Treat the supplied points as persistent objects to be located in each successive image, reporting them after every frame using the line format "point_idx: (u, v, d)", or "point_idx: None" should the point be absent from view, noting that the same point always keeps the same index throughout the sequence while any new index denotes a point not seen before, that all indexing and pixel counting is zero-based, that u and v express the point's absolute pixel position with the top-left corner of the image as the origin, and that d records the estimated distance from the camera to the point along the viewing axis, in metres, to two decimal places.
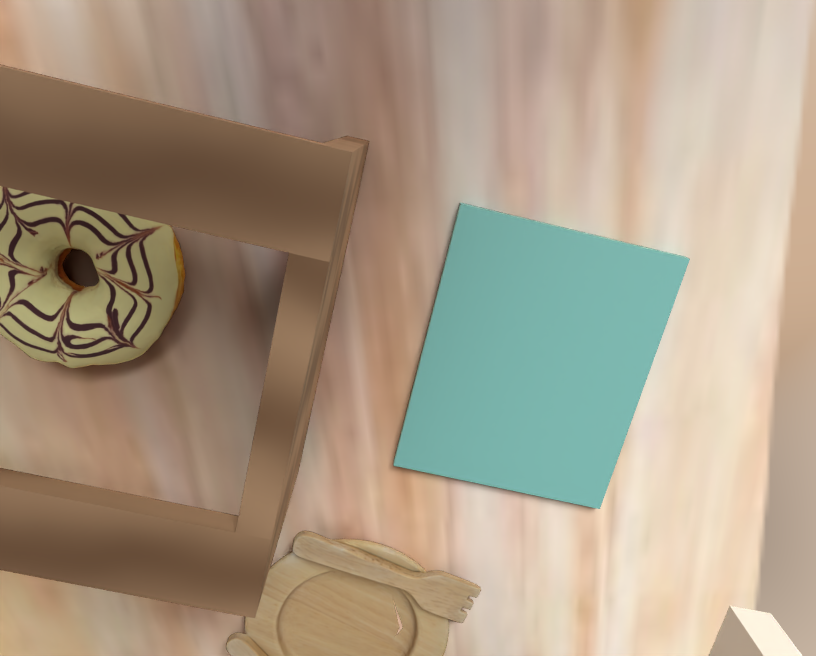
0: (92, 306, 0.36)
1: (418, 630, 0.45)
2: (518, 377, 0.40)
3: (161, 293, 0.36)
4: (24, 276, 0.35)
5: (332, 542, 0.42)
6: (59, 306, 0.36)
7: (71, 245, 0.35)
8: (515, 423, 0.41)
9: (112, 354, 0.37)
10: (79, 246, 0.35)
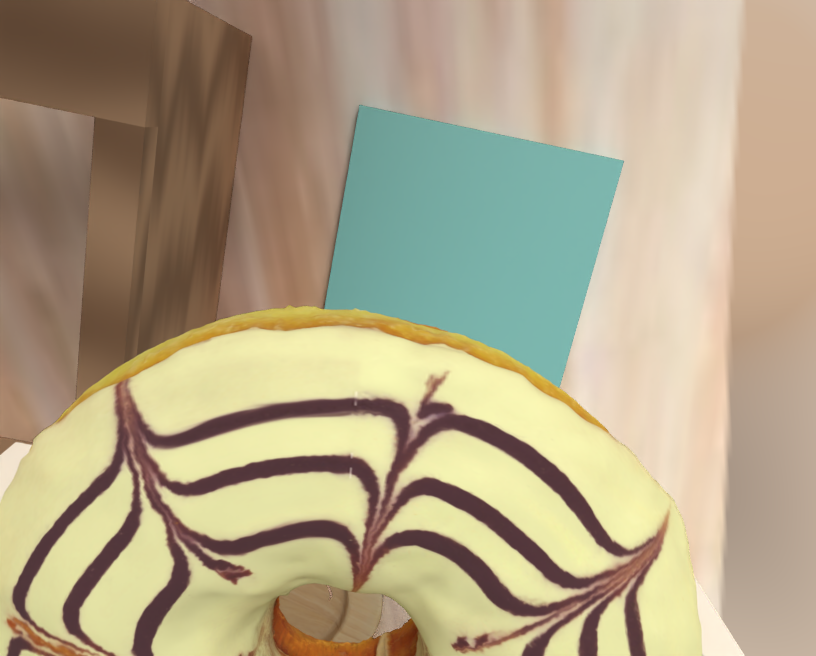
0: None
1: (348, 597, 0.41)
2: (438, 305, 0.35)
3: None
4: None
5: None
6: None
7: (355, 591, 0.10)
8: None
9: None
10: (385, 595, 0.10)
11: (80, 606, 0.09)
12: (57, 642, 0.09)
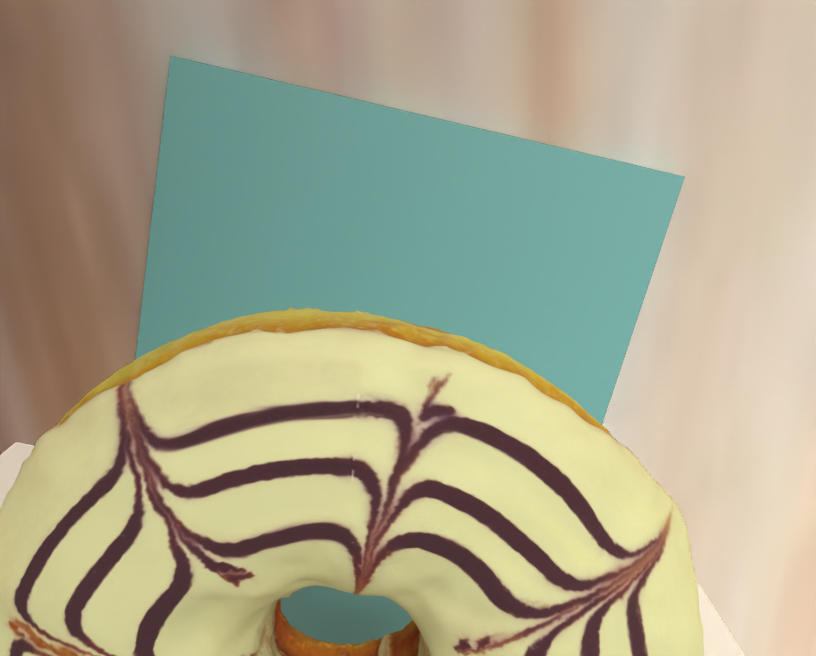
0: None
1: None
2: None
3: None
4: None
5: None
6: None
7: (357, 593, 0.10)
8: None
9: None
10: (387, 597, 0.10)
11: (82, 609, 0.09)
12: (59, 645, 0.09)
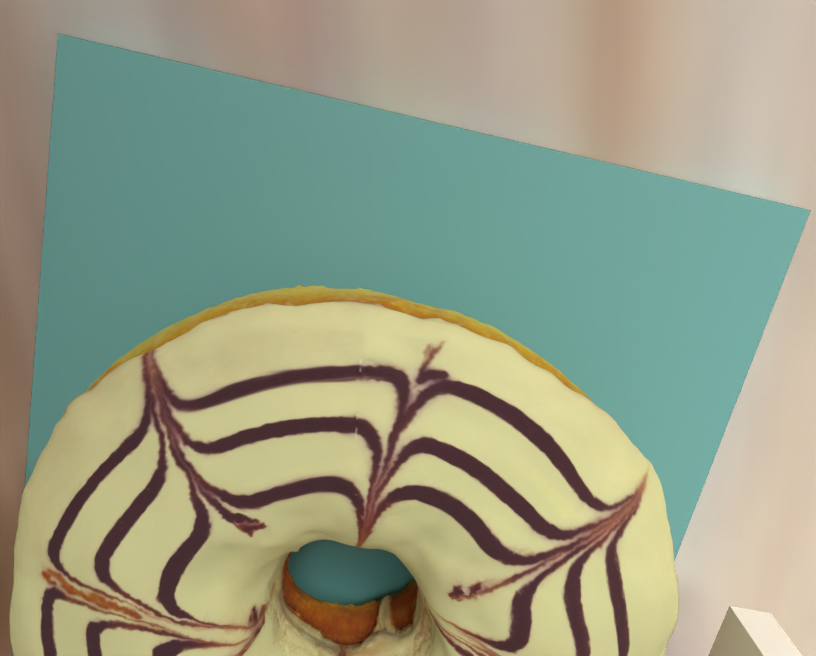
0: None
1: None
2: (310, 560, 0.14)
3: None
4: (204, 653, 0.10)
5: None
6: None
7: (360, 546, 0.11)
8: None
9: None
10: (387, 549, 0.11)
11: (111, 556, 0.10)
12: (89, 591, 0.10)
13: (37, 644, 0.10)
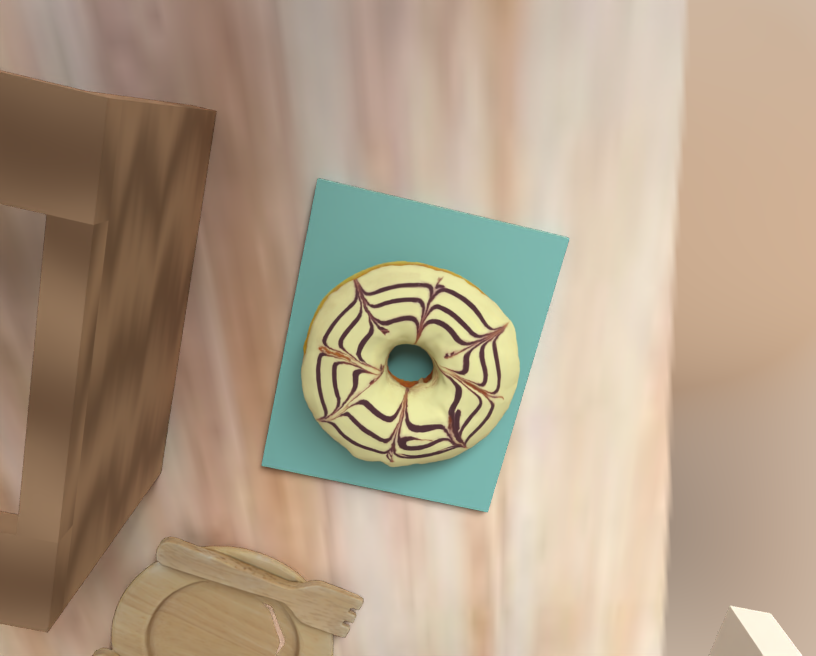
0: (432, 406, 0.34)
1: (299, 645, 0.41)
2: (390, 369, 0.37)
3: (504, 393, 0.34)
4: (367, 375, 0.33)
5: (199, 549, 0.39)
6: (396, 405, 0.34)
7: (416, 343, 0.33)
8: None
9: (442, 454, 0.35)
10: (424, 344, 0.33)
11: (343, 339, 0.32)
12: (335, 351, 0.33)
13: (314, 373, 0.33)
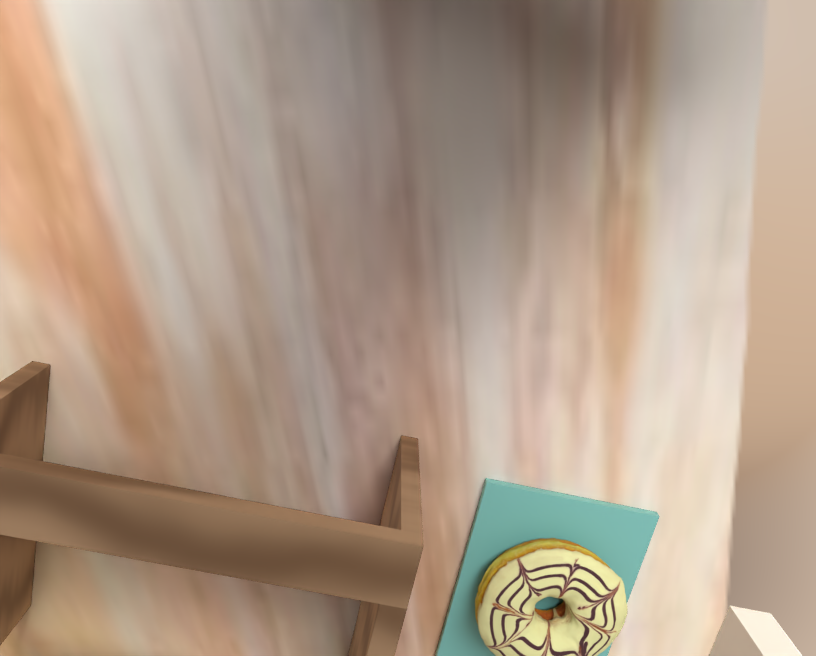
0: (567, 638, 0.49)
1: None
2: None
3: (617, 628, 0.49)
4: (525, 621, 0.49)
5: None
6: (543, 638, 0.49)
7: None
8: None
9: None
10: (563, 598, 0.49)
11: (511, 601, 0.48)
12: (505, 607, 0.48)
13: (488, 619, 0.49)
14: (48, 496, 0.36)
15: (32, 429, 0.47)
